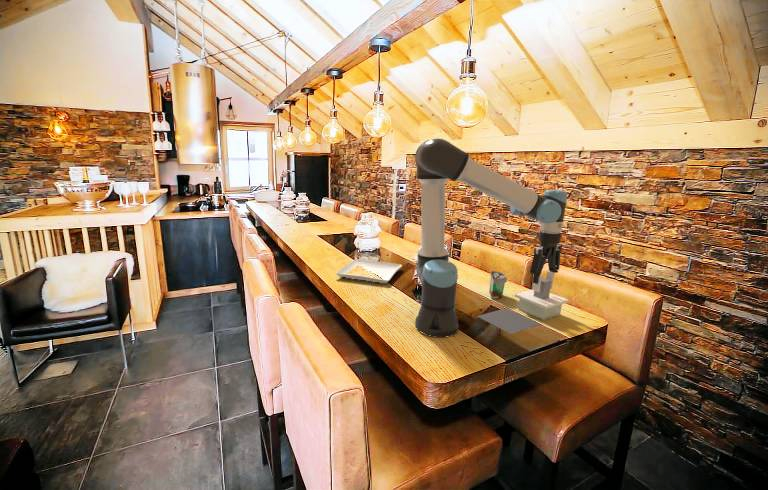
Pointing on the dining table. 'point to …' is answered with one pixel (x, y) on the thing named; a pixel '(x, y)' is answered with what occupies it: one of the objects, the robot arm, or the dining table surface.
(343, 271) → the square plate
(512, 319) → the mat
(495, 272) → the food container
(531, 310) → the open square box
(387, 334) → the dining table surface
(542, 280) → the lid
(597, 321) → the dining table surface
